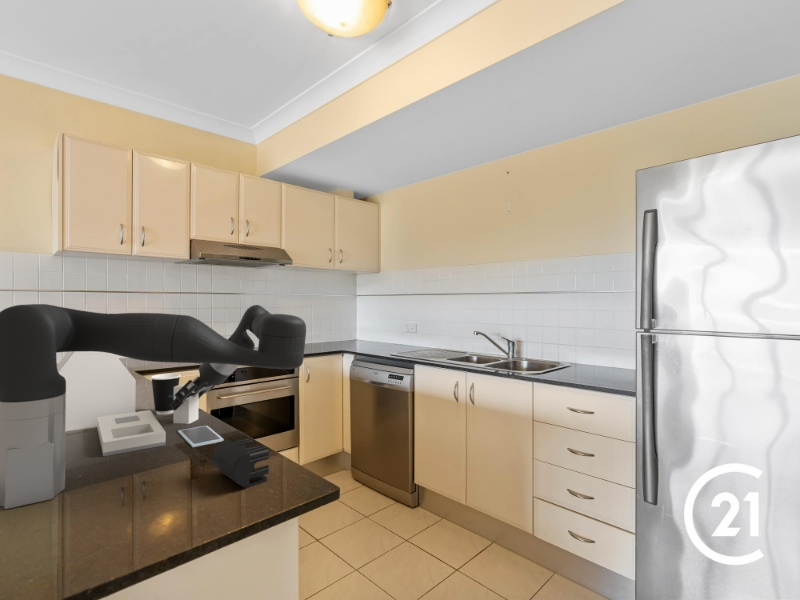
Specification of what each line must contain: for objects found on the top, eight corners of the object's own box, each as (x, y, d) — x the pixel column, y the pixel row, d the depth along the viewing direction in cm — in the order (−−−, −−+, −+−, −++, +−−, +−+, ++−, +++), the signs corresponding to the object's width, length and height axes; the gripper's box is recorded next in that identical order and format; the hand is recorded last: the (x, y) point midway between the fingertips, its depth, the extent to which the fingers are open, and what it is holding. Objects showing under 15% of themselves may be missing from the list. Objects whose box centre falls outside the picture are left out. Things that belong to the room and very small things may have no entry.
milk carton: (45, 434, 105) (46, 334, 105) (45, 420, 117) (46, 330, 117) (135, 421, 118) (136, 331, 118) (127, 409, 129) (128, 328, 129)
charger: (198, 419, 120) (199, 384, 120) (188, 423, 115) (189, 387, 115) (183, 418, 120) (183, 383, 120) (173, 423, 116) (173, 386, 116)
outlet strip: (165, 445, 99) (165, 431, 99) (103, 456, 91) (103, 442, 91) (149, 420, 118) (149, 409, 118) (96, 428, 110) (97, 416, 110)
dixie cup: (179, 414, 124) (179, 377, 124) (148, 417, 121) (148, 379, 121) (181, 408, 131) (181, 372, 131) (152, 410, 128) (152, 374, 128)
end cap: (211, 476, 82) (211, 442, 82) (246, 466, 87) (246, 434, 87) (232, 494, 75) (233, 456, 75) (269, 482, 80) (270, 446, 80)
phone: (223, 443, 102) (223, 438, 102) (192, 449, 98) (192, 444, 98) (206, 429, 113) (206, 424, 113) (178, 434, 108) (178, 430, 108)
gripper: (215, 379, 109) (174, 421, 111) (242, 370, 123) (205, 407, 125) (197, 358, 110) (155, 400, 111) (225, 351, 124) (189, 388, 125)
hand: (182, 404), depth 118 cm, fingers open, 8 cm apart
